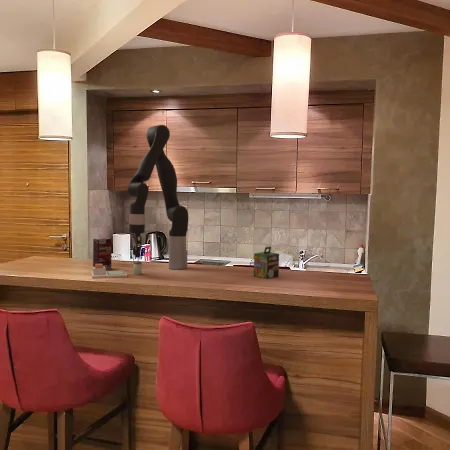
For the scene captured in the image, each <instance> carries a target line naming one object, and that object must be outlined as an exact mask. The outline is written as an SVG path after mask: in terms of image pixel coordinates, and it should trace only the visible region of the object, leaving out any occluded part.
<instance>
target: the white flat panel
mask: <svg viewBox="0 0 450 450" xmlns="http://www.w3.org/2000/svg"><path fill="white" fill-rule="evenodd" d="M90 276H91V278H92V279H109V278H127V277H128V274H127V273H126V272H125V270H123V269H122V270H106V275H93V271H90Z"/></svg>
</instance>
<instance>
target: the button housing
mask: <svg viewBox="0 0 450 450" xmlns="http://www.w3.org/2000/svg"><path fill="white" fill-rule="evenodd" d="M106 271H107V269H106V268H105V266H103V268H95V267H93V266H92V272H93V275H106Z"/></svg>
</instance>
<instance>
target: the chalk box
mask: <svg viewBox="0 0 450 450" xmlns="http://www.w3.org/2000/svg"><path fill="white" fill-rule="evenodd" d="M267 250H268V251H267ZM271 250H272V246H266V247H264V250H263V251H260V252H255V253H253V277H256V278H262V279H266V280H268V279H272V278H276V277H277V278H278V277H279V274H280V273H279V272H280V270H279V268H280V266H279V265H280V253H277V252H271Z"/></svg>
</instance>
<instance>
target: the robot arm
mask: <svg viewBox="0 0 450 450" xmlns="http://www.w3.org/2000/svg"><path fill="white" fill-rule="evenodd" d="M145 134H146V140H147V143H148V146H149V150H148V151H147V153H146V154H145V155H144V157H143V158H142V159H141V161H140V163H139V165H138V167H137V171H136V172H135V174H134V176H133V177H132V178H131V180H130V181H129V182H128V183H127V184H128V185H127V187H126V189H127V190H126V191H127V194H128V196H130V197H134V198H136V199H135V201H132V202H131V203H130V204H129V205H130V206H129V218H128V219H129V220H128V221H129V224H128V228H129V230H128V233H130V234H132V238H131V247H132V255H133V256H135V258H141V250H142V248H143V247H142V239H143V237H142V236H141V234H144V233H145V231H146V217H145V216H146V215H145V212H146V211H145V209H146V208H145V207H146V202H147V199H148V196H149V186H148V185H147V183H145V182H147V181H149V180H150V179H151V176H152V174H153V171H154V168H155V169H156V172H157V177H158V182H159V184H160V188H161V191H162V195H163V199H164V206H165V212H166V216H167V219H168V220H169V221H170V222H171V228H170V230H169V231H168V269H170V270H184V269H188V250H187V233H188V231H189V212H188V209H187V208H186V207H185V206H182V205H181V204H180V203H179V199H178V195H177V191H178V176H177V174H176V172H177V171H176V169H175V165H174V164H173V163H172V161H171V160H170V159H169V158H168V157H167V156H168V155H166V153H165V151H164V148H165V147H166V145H167V144H168V141H169V140H170V136H171V133H170V129H169V128H168V126H166V125H165V124H158V125H154V126H150V127H148V128H147V130H146V132H145Z"/></svg>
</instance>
